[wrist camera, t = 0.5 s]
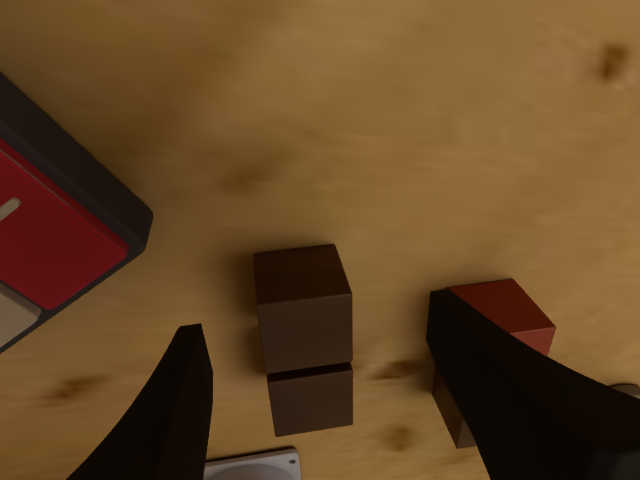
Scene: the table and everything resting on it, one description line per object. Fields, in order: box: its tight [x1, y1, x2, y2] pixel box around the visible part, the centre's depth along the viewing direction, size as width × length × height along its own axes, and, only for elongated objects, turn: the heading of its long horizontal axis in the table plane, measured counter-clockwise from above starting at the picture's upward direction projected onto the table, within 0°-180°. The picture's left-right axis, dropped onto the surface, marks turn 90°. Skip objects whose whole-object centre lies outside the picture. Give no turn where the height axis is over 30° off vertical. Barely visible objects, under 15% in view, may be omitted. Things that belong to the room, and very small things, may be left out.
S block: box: [446, 279, 556, 356], centre depth 26 cm, size 4×4×4 cm
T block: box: [253, 244, 353, 374], centre depth 23 cm, size 4×4×4 cm
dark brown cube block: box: [267, 362, 353, 437], centre depth 26 cm, size 4×4×4 cm
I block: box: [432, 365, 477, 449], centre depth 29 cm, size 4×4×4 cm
